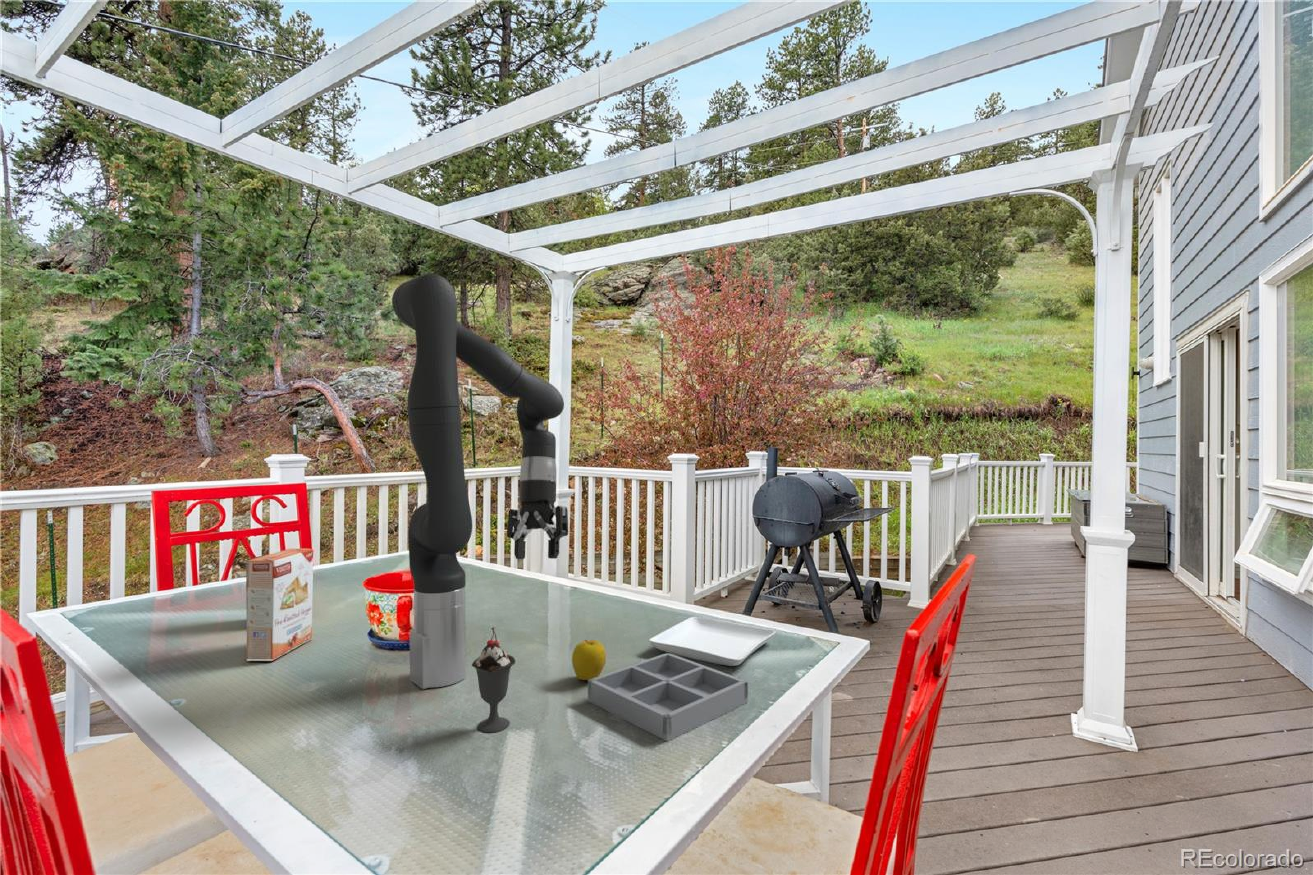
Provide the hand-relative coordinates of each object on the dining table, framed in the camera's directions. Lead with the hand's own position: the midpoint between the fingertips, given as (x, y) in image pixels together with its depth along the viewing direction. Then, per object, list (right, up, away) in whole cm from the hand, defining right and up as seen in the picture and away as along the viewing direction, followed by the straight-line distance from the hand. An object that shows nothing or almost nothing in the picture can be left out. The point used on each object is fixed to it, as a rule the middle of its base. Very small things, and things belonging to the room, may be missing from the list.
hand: (536, 558), depth 125 cm
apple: (+12, -21, -10) cm, 26 cm away
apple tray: (+27, -21, -20) cm, 39 cm away
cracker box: (-56, -21, +5) cm, 60 cm away
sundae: (-1, -21, -28) cm, 35 cm away
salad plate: (+37, -21, +7) cm, 43 cm away
